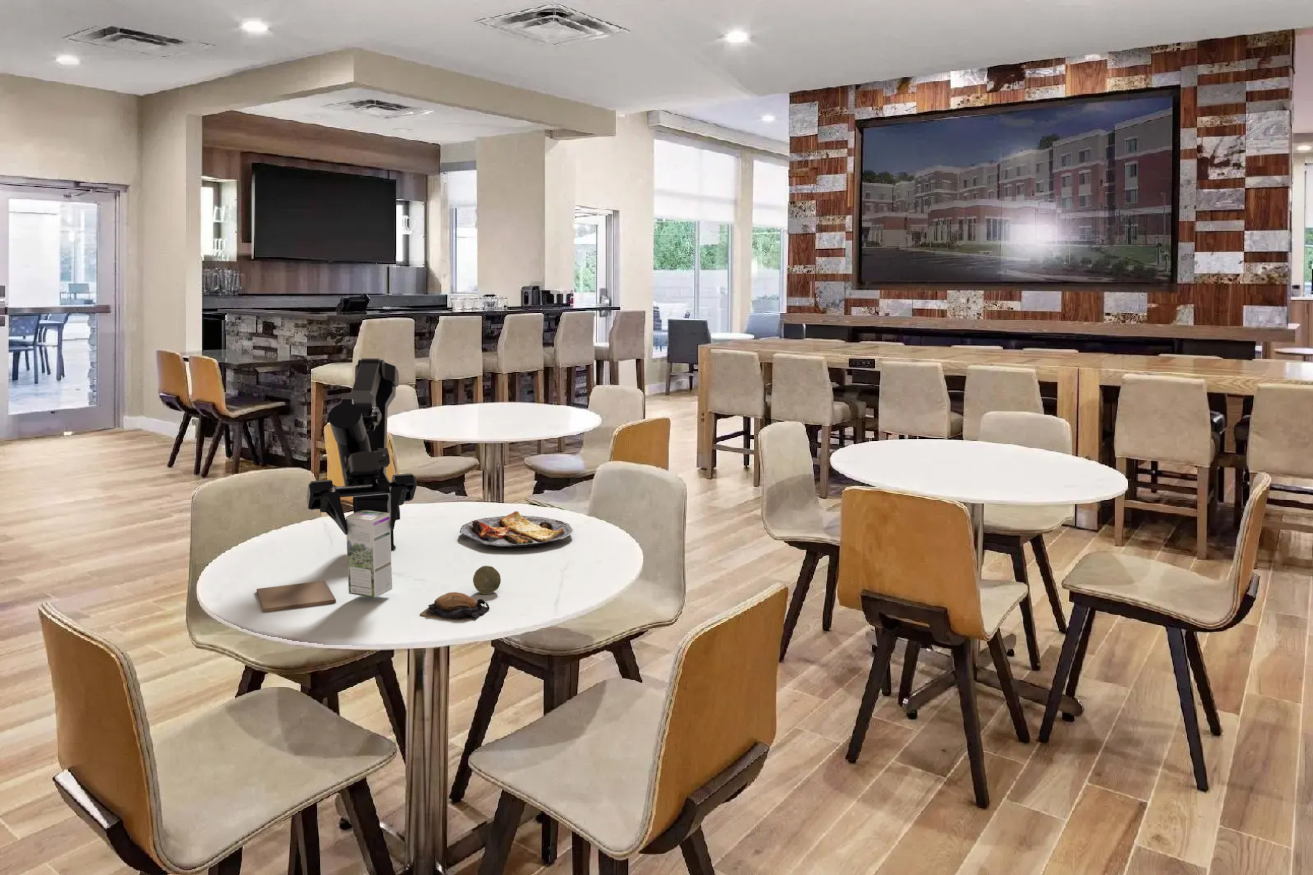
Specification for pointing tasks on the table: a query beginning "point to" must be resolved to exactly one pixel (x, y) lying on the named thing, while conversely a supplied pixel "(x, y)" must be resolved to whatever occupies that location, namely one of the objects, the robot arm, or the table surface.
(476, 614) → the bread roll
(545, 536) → the food plate
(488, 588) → the lime
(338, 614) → the table surface
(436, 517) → the table surface
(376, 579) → the syrup box
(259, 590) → the plate
